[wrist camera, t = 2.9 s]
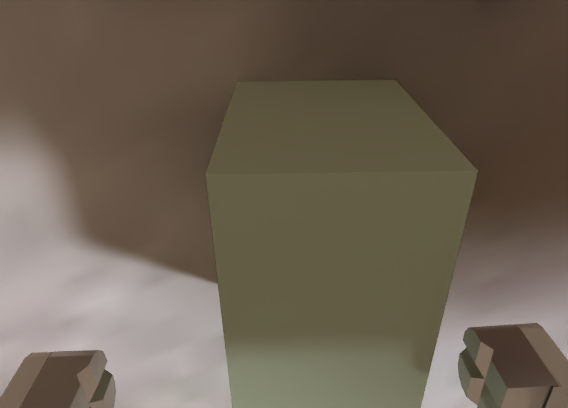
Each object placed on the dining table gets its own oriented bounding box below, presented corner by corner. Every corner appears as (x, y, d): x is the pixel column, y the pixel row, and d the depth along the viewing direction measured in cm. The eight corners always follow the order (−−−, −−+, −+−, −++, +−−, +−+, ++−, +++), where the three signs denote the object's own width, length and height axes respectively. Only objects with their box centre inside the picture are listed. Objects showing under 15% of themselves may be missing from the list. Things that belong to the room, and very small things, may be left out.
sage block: (394, 78, 12) (477, 170, 7) (369, 290, 16) (410, 448, 11) (237, 80, 12) (205, 174, 7) (250, 292, 16) (237, 450, 11)
